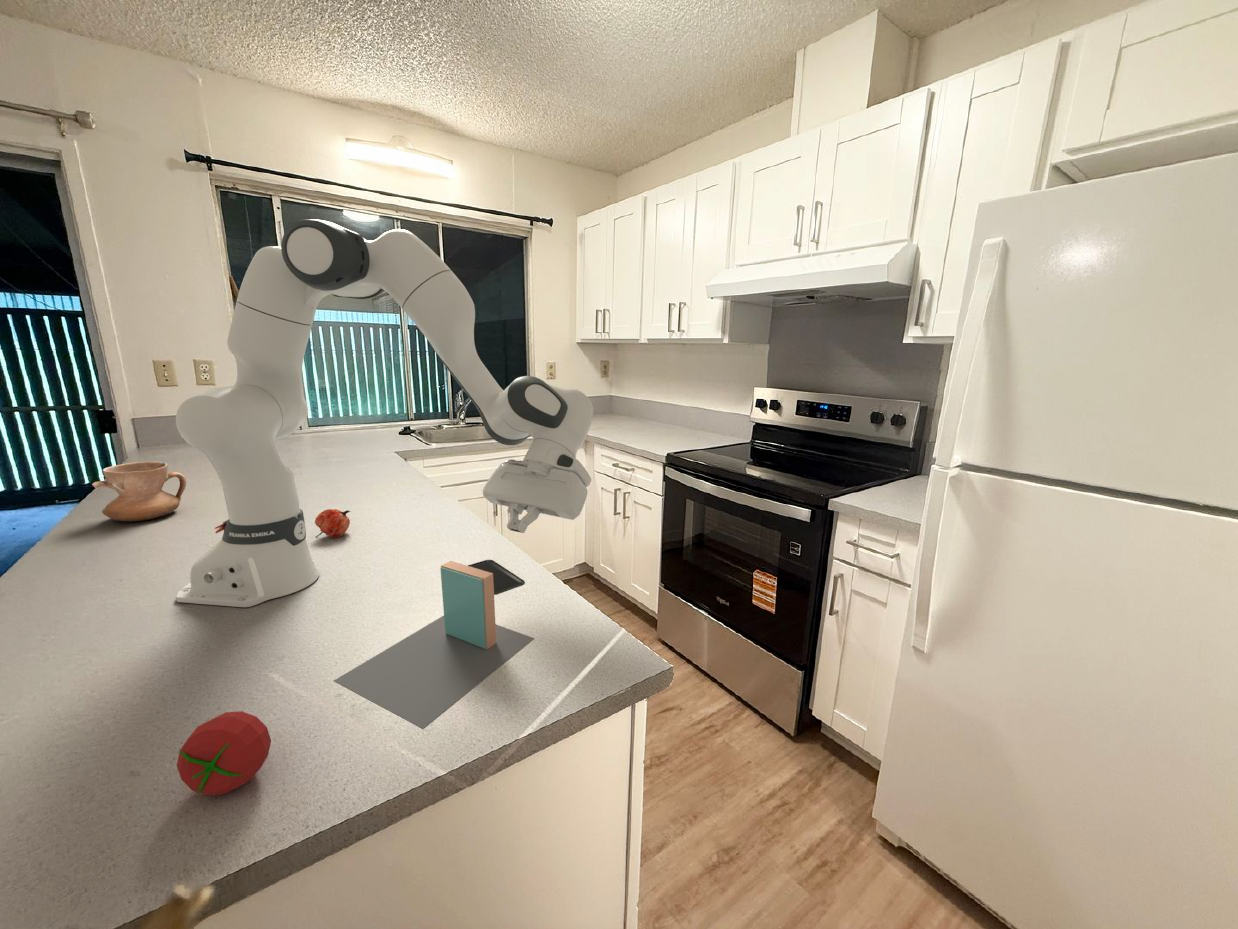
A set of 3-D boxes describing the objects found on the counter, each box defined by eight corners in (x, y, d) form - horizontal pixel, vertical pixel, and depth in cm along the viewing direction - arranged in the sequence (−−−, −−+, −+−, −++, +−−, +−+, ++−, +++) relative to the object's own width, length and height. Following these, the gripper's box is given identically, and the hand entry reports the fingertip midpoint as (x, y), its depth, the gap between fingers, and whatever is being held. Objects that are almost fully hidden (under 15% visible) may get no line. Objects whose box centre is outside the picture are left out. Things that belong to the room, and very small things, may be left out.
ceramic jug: (105, 531, 120) (93, 476, 117) (96, 518, 129) (85, 466, 126) (198, 515, 134) (189, 465, 131) (184, 503, 143) (176, 456, 140)
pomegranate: (318, 552, 116) (351, 526, 116) (296, 529, 115) (330, 503, 115) (332, 543, 124) (364, 519, 124) (312, 521, 122) (344, 497, 122)
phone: (490, 558, 107) (526, 582, 97) (490, 563, 108) (527, 587, 97) (456, 568, 102) (491, 595, 91) (456, 573, 102) (491, 600, 92)
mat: (454, 612, 87) (454, 609, 87) (534, 641, 78) (534, 638, 78) (334, 684, 68) (333, 680, 68) (423, 732, 60) (423, 728, 59)
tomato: (239, 685, 55) (187, 724, 47) (298, 723, 56) (256, 767, 48) (193, 742, 54) (134, 791, 47) (254, 779, 55) (205, 833, 48)
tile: (455, 627, 81) (450, 560, 78) (496, 642, 77) (493, 573, 74) (444, 634, 79) (439, 566, 76) (486, 650, 75) (482, 579, 72)
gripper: (496, 449, 93) (461, 512, 87) (586, 462, 84) (554, 533, 78) (512, 467, 98) (480, 527, 92) (599, 481, 89) (570, 549, 83)
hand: (514, 530), depth 85 cm, fingers closed
